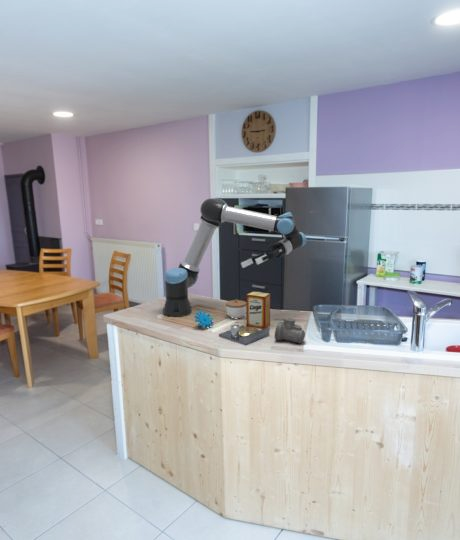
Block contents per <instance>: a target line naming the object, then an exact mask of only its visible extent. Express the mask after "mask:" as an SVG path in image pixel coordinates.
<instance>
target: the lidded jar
mask: <svg viewBox="0 0 460 540" xmlns="http://www.w3.org/2000/svg"><path fill="white" fill-rule="evenodd" d="M225 311H226V313H227V316H229V318H230V317H233V318H240V319H242V318H243V317H244V316H245V314H246V301H244V300H239V299H231V300H227V301H226V302H225Z"/></svg>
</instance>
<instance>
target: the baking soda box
mask: <svg viewBox="0 0 460 540" xmlns="http://www.w3.org/2000/svg"><path fill="white" fill-rule="evenodd" d="M245 302H246V312H245V314H246V316H245V317H246V325H245V326H246V327H251V328H256V329H259V330H261V329H264V328H266V327H270V325H271V293H267V292H261V291H251V292H249V293H247V294H246V301H245Z"/></svg>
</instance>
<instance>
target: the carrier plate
mask: <svg viewBox="0 0 460 540" xmlns="http://www.w3.org/2000/svg"><path fill="white" fill-rule="evenodd" d="M268 336H270V326H268V327H266V328H264V329H259V328H254V327H248V326H246V325H238V324H232V325H230V329H229V330H226V331H224V332H221V333H219V334H218V337H220V338H223V339H227V340H229V341H231V342H232V341H233V342H235V343H238V344H241V345H245V346H247V345H250V344H252V343H254V342H257V341H259V340H261V339H264V338H267V337H268Z"/></svg>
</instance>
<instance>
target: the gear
mask: <svg viewBox="0 0 460 540" xmlns="http://www.w3.org/2000/svg"><path fill="white" fill-rule="evenodd" d="M194 318H195V322H196V323H197V322H198V324H197V325H198V326H199V327H201V328H202V329H206V327H209V326H212V327H213V324H214V320H213V319H215V317H214V316H212V317H211V314H210V313H207V311H206V310H204V311H203V310H202V309H201V310H200V309H199V311H196V312H195V315H194ZM209 328H210V327H209Z"/></svg>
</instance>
